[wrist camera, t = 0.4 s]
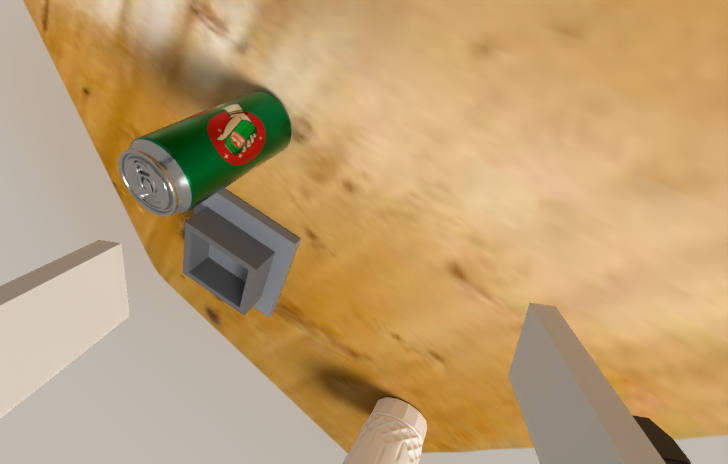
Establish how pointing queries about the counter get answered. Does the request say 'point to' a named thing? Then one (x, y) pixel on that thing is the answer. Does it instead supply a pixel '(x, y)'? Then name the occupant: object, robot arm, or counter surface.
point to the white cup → (389, 435)
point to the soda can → (204, 153)
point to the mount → (238, 253)
